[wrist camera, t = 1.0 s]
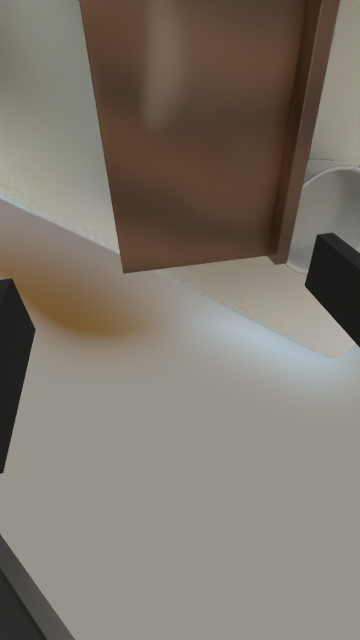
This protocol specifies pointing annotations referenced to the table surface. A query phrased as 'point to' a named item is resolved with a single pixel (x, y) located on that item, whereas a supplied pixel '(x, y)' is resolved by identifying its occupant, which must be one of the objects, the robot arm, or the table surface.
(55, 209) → the table surface
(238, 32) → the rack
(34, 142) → the table surface
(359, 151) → the table surface
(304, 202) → the teacup
